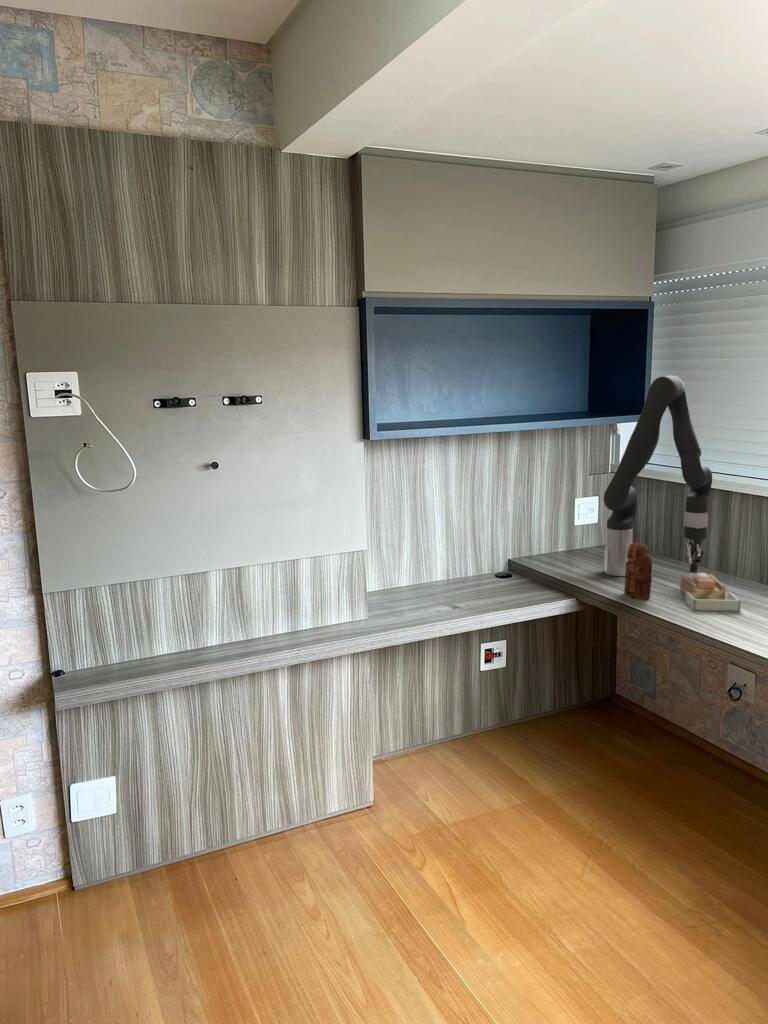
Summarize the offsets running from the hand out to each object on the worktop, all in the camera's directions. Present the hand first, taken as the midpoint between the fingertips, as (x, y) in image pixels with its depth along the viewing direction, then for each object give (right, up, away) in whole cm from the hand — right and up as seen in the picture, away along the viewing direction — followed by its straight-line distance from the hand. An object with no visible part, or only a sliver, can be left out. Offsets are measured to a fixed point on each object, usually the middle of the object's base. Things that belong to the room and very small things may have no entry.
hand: (693, 573), depth 265 cm
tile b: (-2, -3, -13) cm, 14 cm away
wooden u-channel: (-1, -7, -10) cm, 12 cm away
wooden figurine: (-22, -7, -8) cm, 25 cm away
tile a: (-1, -2, -8) cm, 8 cm away
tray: (-3, -9, -22) cm, 24 cm away
